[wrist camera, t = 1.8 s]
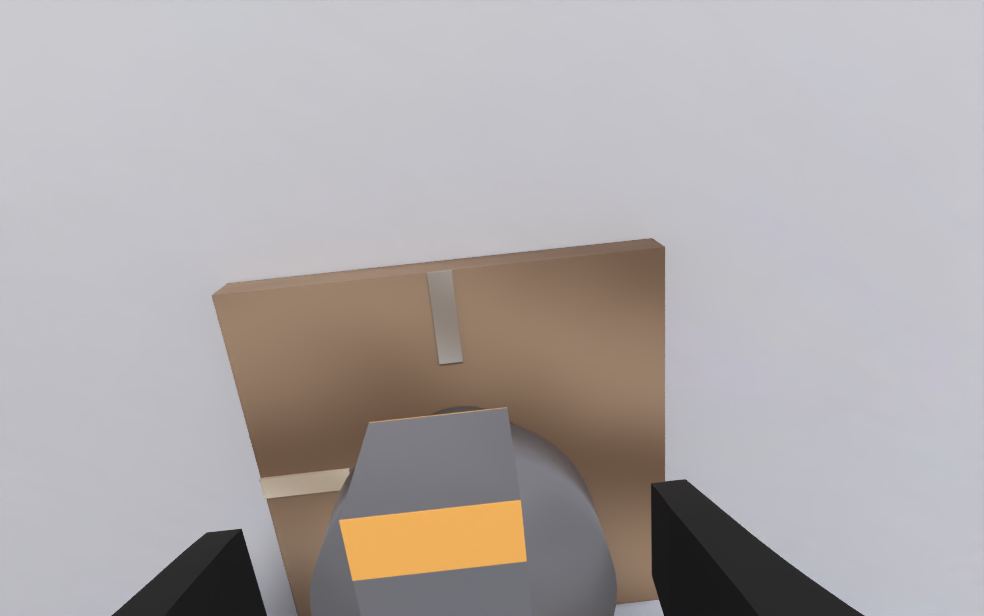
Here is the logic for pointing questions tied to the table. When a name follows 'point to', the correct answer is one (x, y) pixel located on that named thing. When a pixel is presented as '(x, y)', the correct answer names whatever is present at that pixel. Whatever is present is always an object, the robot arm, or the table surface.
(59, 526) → the table surface
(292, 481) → the knob base
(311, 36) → the table surface
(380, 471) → the twist knob
